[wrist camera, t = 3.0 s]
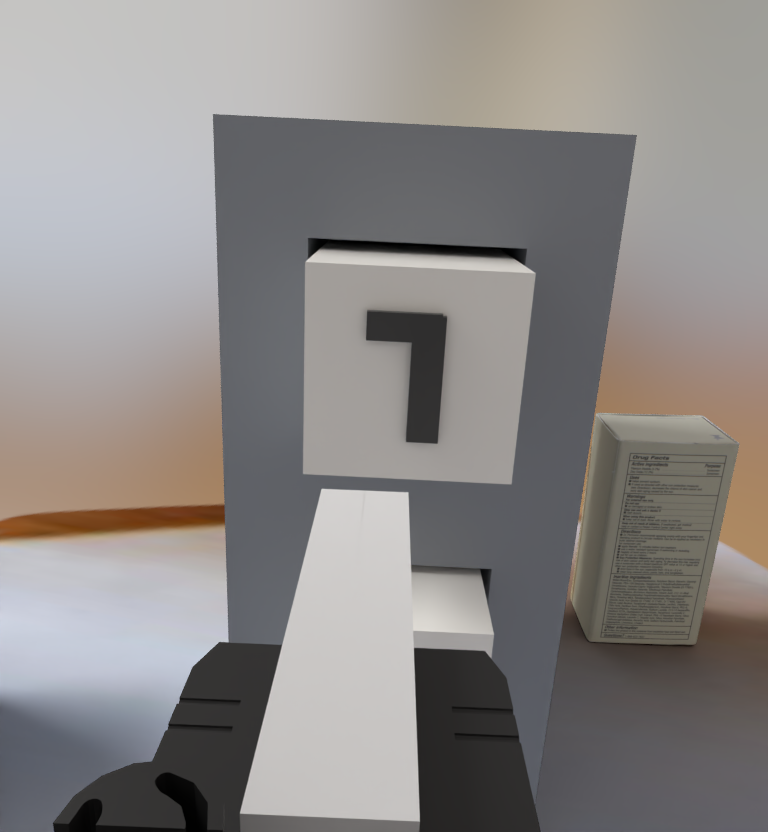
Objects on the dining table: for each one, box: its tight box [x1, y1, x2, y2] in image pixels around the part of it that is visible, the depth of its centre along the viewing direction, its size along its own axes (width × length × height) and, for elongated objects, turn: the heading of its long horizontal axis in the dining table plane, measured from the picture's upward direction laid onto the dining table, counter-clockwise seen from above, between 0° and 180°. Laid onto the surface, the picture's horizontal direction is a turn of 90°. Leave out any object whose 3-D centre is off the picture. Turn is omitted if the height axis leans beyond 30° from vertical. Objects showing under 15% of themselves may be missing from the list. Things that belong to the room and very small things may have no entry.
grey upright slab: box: [213, 114, 637, 804], centre depth 30 cm, size 11×17×25 cm, turn 179°
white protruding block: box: [303, 241, 536, 484], centre depth 20 cm, size 5×6×5 cm
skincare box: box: [570, 413, 739, 645], centre depth 38 cm, size 6×4×12 cm
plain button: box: [411, 565, 494, 658], centre depth 23 cm, size 5×6×5 cm
